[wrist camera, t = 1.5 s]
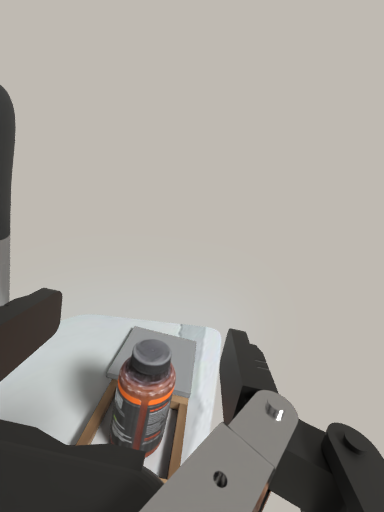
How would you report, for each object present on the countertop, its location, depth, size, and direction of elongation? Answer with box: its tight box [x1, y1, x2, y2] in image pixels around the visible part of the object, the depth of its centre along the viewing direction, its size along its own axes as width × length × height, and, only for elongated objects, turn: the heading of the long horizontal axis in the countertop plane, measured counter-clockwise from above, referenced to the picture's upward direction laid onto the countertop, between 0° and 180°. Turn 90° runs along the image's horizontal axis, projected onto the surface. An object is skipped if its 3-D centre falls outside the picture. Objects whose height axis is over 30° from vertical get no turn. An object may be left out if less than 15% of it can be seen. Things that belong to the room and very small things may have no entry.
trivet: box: [106, 326, 196, 398], centre depth 39 cm, size 12×12×1 cm
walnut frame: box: [76, 379, 188, 483], centre depth 27 cm, size 10×10×1 cm
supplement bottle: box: [110, 339, 176, 457], centre depth 25 cm, size 6×6×11 cm
